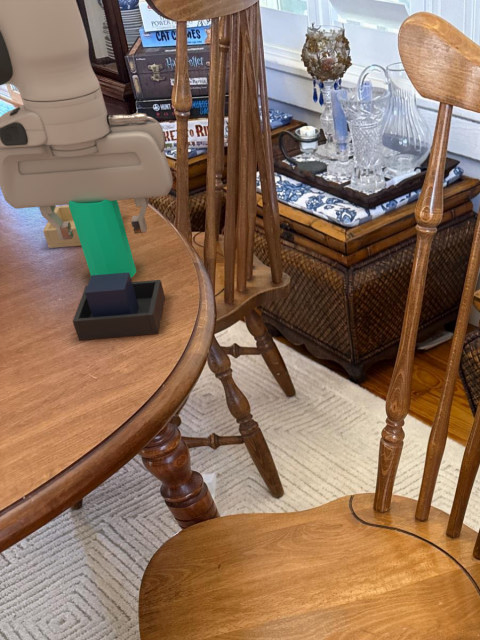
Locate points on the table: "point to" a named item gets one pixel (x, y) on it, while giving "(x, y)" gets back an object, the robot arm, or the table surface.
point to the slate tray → (123, 325)
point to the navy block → (111, 295)
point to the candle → (103, 237)
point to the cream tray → (52, 233)
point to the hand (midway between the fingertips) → (104, 234)
